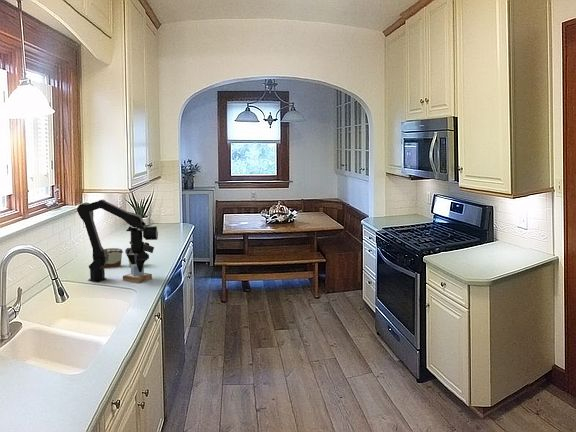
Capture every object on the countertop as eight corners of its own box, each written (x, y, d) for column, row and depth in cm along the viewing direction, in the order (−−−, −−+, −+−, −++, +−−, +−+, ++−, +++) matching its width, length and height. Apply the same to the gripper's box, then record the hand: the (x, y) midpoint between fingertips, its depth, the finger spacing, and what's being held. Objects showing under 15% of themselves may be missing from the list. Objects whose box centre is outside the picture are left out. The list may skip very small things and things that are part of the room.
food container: (122, 264, 290) (121, 247, 289) (123, 266, 285) (123, 249, 284) (99, 266, 285) (98, 248, 284) (100, 268, 280) (99, 250, 278)
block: (143, 275, 257) (143, 265, 257) (134, 276, 254) (133, 266, 254) (140, 272, 261) (140, 263, 261) (130, 274, 258) (130, 264, 258)
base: (138, 283, 252) (138, 278, 251) (122, 280, 256) (122, 275, 255) (151, 278, 261) (151, 273, 260) (136, 276, 265) (136, 271, 264)
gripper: (158, 241, 252) (159, 272, 254) (145, 235, 268) (146, 264, 270) (136, 243, 246) (137, 274, 248) (124, 237, 261) (125, 267, 263)
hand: (137, 270), depth 257 cm, fingers open, 9 cm apart
